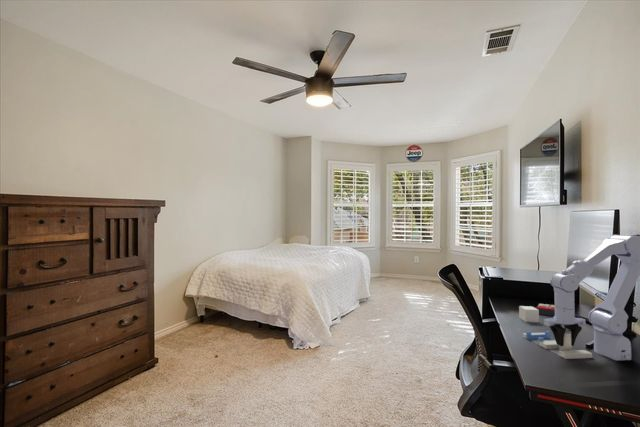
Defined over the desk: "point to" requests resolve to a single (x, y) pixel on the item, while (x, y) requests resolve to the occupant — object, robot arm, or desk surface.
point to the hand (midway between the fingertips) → (565, 344)
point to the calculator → (546, 309)
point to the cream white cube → (528, 314)
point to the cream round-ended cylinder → (566, 341)
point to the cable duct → (555, 345)
